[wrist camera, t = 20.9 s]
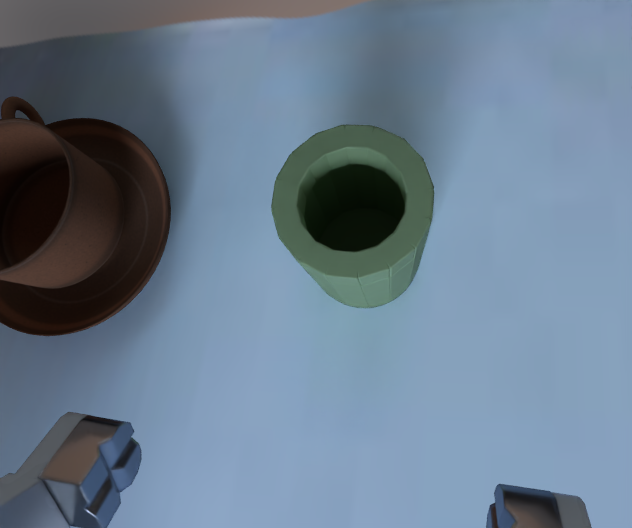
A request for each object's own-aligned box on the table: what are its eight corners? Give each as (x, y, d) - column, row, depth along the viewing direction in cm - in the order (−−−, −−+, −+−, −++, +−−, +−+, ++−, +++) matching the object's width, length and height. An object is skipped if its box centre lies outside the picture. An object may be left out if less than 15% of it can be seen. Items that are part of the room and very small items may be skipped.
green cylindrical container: (422, 208, 24) (439, 127, 16) (414, 313, 23) (426, 286, 15) (319, 201, 25) (283, 121, 17) (305, 302, 24) (261, 270, 16)
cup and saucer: (-38, 210, 28) (-154, 170, 22) (124, 96, 28) (52, 25, 22) (40, 381, 25) (-69, 387, 19) (223, 254, 25) (170, 220, 19)
